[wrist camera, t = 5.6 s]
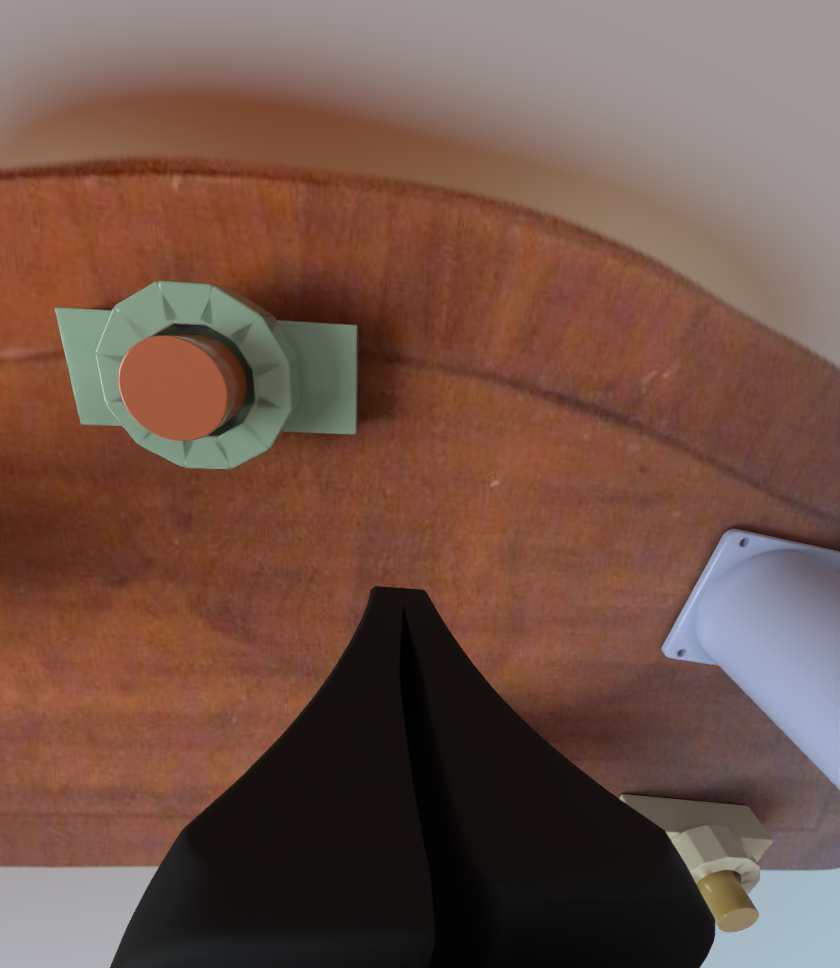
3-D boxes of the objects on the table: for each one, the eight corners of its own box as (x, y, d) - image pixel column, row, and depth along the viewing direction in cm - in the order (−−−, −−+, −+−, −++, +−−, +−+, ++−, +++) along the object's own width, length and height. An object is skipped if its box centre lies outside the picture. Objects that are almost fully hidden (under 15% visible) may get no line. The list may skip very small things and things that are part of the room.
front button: (244, 335, 14) (222, 338, 12) (252, 427, 15) (232, 443, 13) (145, 330, 14) (106, 332, 12) (160, 424, 15) (127, 439, 13)
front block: (359, 298, 17) (354, 293, 13) (358, 446, 19) (353, 473, 15) (80, 279, 16) (0, 269, 12) (112, 438, 18) (51, 465, 14)
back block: (755, 795, 30) (808, 862, 26) (719, 843, 32) (764, 913, 28) (627, 782, 28) (665, 853, 25) (596, 834, 30) (627, 907, 26)
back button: (739, 866, 26) (767, 909, 24) (720, 890, 27) (746, 933, 25) (705, 864, 26) (731, 907, 24) (687, 888, 27) (711, 932, 25)
